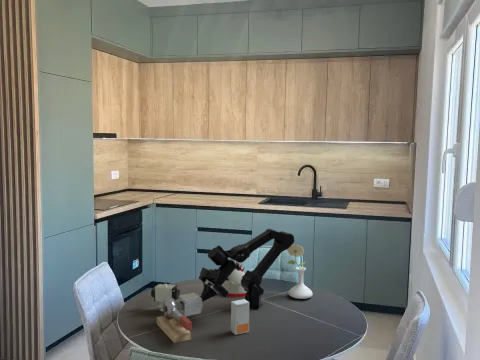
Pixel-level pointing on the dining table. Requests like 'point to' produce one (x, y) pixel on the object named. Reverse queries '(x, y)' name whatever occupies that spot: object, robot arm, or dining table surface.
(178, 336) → the oak cradle
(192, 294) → the cube on metal disc
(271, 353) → the dining table surface
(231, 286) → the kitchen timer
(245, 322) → the skincare box
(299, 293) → the flower in vase
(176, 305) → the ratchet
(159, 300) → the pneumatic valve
